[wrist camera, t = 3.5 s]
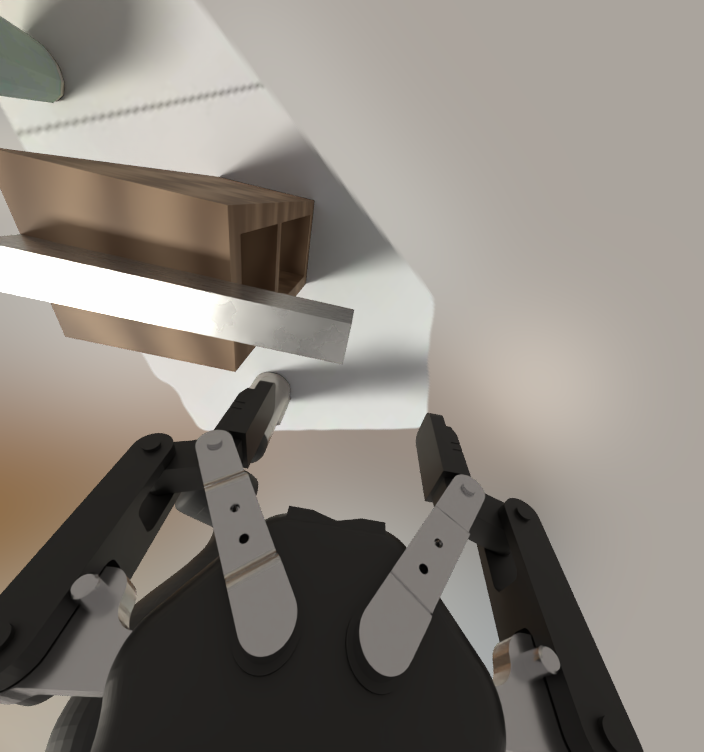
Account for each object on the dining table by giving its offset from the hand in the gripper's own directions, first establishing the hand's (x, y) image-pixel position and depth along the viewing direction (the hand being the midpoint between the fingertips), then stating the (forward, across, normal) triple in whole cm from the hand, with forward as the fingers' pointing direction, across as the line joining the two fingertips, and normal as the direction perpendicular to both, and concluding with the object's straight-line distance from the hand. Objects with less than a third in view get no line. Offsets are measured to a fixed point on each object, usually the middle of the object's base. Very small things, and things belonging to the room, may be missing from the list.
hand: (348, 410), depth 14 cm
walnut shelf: (+42, +19, 0) cm, 46 cm away
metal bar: (+10, +14, 0) cm, 17 cm away
